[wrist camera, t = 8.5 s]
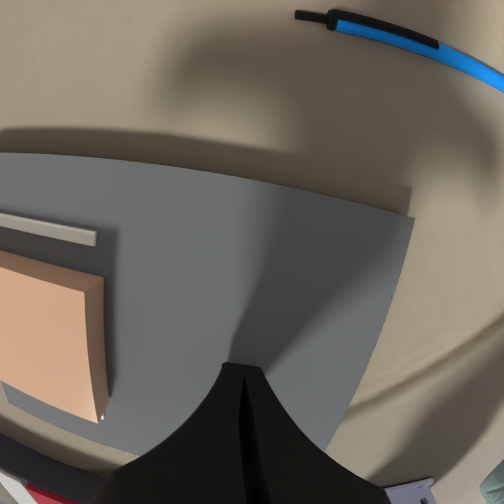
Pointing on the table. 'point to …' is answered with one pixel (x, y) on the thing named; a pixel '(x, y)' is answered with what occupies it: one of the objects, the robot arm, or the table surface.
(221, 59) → the table surface
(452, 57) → the pen
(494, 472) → the green cup
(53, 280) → the tile
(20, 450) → the calculator
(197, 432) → the robot arm
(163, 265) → the mat
